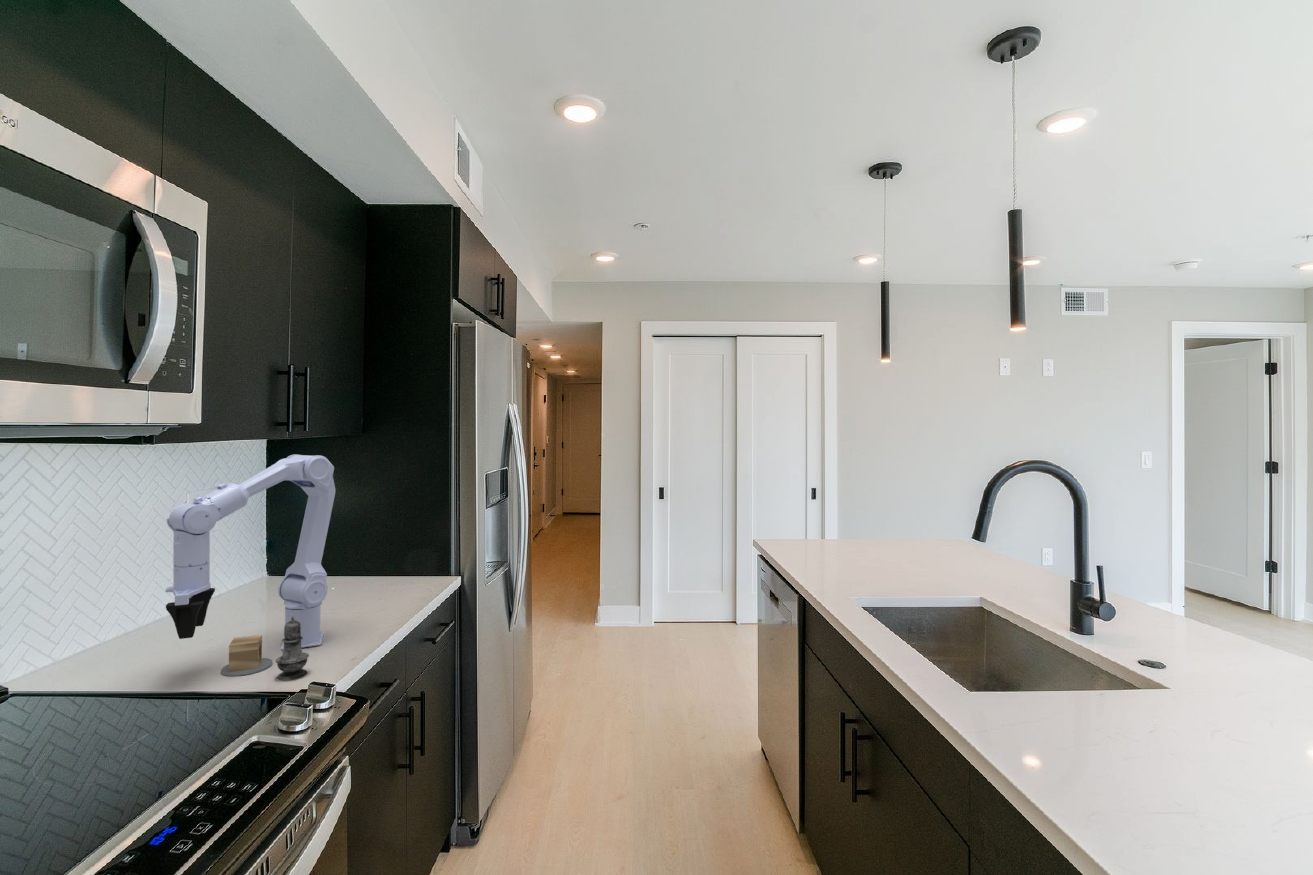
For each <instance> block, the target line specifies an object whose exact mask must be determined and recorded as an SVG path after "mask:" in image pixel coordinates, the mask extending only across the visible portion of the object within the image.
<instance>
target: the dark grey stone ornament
mask: <svg viewBox="0 0 1313 875" xmlns="http://www.w3.org/2000/svg"><path fill="white" fill-rule="evenodd" d="M283 629H284V630H283V632H284V635H283V636H284V638H283V639H282V641H281V642H282V643H283V642H284V650H283V652H282V655H280V656H278V657H277V658H275V663H277V667H278V670H280V671H281V673H280V674H278V675H277V677H276V679H277V680H279V681H294V680H297V679H298V680H299V679H302V678H303V677H306V676H307V674H308V670H306V669H303V668H304V667H305V666H306V665H307V662H308V658H309V657H310V655H309V653H308V652H304V651H303V649H302V648H301V640H302V639H303V637H301V624H300V622H298V621H295V620H294V617H292V618H291V621H289V622H287V623H286V624H285V623H284V628H283Z"/></svg>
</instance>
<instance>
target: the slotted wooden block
mask: <svg viewBox="0 0 1313 875" xmlns="http://www.w3.org/2000/svg"><path fill="white" fill-rule="evenodd" d="M262 658H263V634H255V635H254V634H253V635H246V636H236V637H233V639H232V640H231V642H230V643H229V645H228V664H229V672H235V671H242V670H250V669H257V668H258V667H259V662H261V661H262Z"/></svg>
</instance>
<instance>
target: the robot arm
mask: <svg viewBox="0 0 1313 875" xmlns="http://www.w3.org/2000/svg"><path fill="white" fill-rule="evenodd" d="M334 471H335V466H334V465H333V464H332V463H331V462H330V461H329V459H328V458H327V457H326V456H323V455H308V454H307V455H304V454H303V455H302V454H296V453H295V454H291V455H288V456H287V457H286V458H281V459H279V460H278V461H276V462H275V463H274V464H271V465H270V466H269V467H266V468H265V469H263V470H262V471H260V472H259V473H256V474H255V475H253V476H251V477H249V478H248V479H246V480H245V481H243V482H241V483H239V484H236V483H234V482H233V483H231V482H229V483H220V484H218V485H216V488H217V489H215V490H213V491H211V492H209V493H207V494H205V495H203V496H196V497H194V498H193V502H192V503H183V504H179V505H178V506H175V508H174V509H173V510H172V511H171V512H170V514H169V517H168V518H166V524H167V526H168V528H169V529H170V530H171V531H172V532H173V544H172V545H173V554H172V556H173V558H172V559H173V560H172V561H173V562H172V563H173V569H172V570H173V583H172V584H173V586H168V587H166V588H165V593H172V594H173V596H174V602H167V603H166V604H165V610H166V611H167V613H168V614H169V615H170V617H171V618H172V620H173V623H174V626H175V629H176V633H177V636H178V639H179V640H183V639H192V638H193V637H194V635H195V632H196V627H203V626H204V624H205V620H206V616H207V611H208V608H209V605H210V601H211V599H212V598H213V595H214V593H215V591H216V588H215V587H212V585H211V582H210V574H211V573H210V572H211V571H210V560H211V559H210V554H211V553H210V552H211V551H210V547H211V546H210V545H211V544H210V543H211V542H210V540H211V539H210V538H211V536H210V532H211V531H212V530H213V529H214V527H215V526H216V523H218V521H220V520H222V519H225V518H226V517H228V516H230V515H232V514H233V513H235V512H237V511H238V510H240V509H242V508H244V507H246V506H247V504H248V502H249V498H250V497H252V496H255V495H257V494H259V493H261V492H264V491H265V490H268V489H269V488H271V487H273V486H275V485H278V484H279V483H281V482H283V481H290V482H292V483H294V484H295V485H296V486H299V487H300V488H301V489H302V490H303V491H304V492H305V494H306V495H307V496H308V497H307V502H306V506H305V511H304V517H303V520H302V525H301V530H300V535H299V539H298V544H297V549H296V554H295V558H294V562H293V563H292V564H291V565H290V566H288V567H287V569H286V571H285V575H284V577H283V578H282V580H281V581H280V583H279V585H278V588H277V589H278V590H277V591H278V592H277V593H278V596H279V597H280V599H281V600H282V601H283V604H284V625H285V624H286V623H287V622H289V621H291V618H292V617H294V620H295V621H298V622H300V624H301V637H303V639H302V640H301V649H302V648H308V647H309V648H311V647H315V646H316V647H317V646H321V645H322V642H323V638H324V634H325V632H324V630H323V631H322V630H321V613H322V612H321V611H322V610H321V606H322V604H323V601H324V600H325V599H326V596H327V594H328V585H327V584H328V583H327V576H328V573H327V572H326V570H325V568H324V567H323V565H322V562H323V561H322V559H323V556H324V550H325V545H326V540H327V536H328V532H329V531H328V530H329V526H330V522H331V517H332V511H333V507H334V501H335V496H336V486H335V481H334ZM280 650H281V651H284V642H282V644H281V647H280Z"/></svg>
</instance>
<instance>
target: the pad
mask: <svg viewBox="0 0 1313 875" xmlns="http://www.w3.org/2000/svg"><path fill="white" fill-rule="evenodd" d="M273 664H274V662H273V659H271V658H268V657H262V661H261V662H259V667H258V668H257V669H250V670H242V671H235V672H229V663H228V664H226V665H225V666H224V665H223V667H222V668H221V669H220V674H221V675H222V676H225V677H242V676H244V677H245V676H249V675H253V674H256V673H257V674H258V673H260V672H264V671H265V670H268V669H270V668H271V667H272V665H273Z"/></svg>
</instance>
